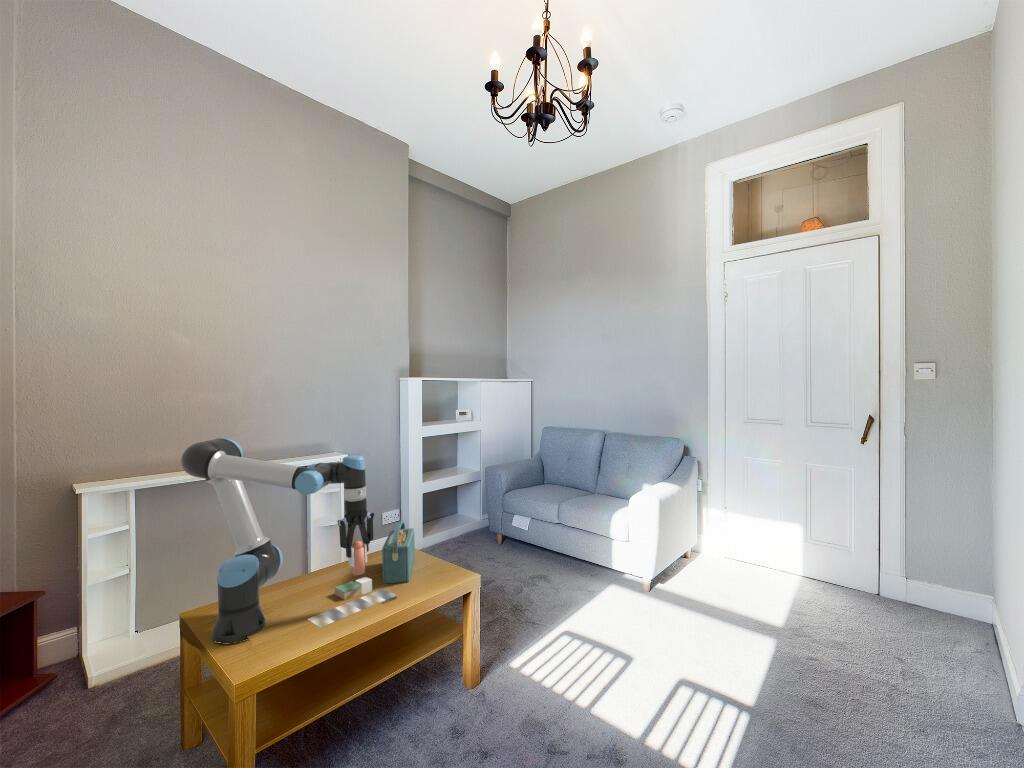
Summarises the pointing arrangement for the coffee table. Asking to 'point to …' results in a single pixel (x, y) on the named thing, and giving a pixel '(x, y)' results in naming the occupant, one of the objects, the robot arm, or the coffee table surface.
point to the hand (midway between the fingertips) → (358, 563)
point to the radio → (398, 555)
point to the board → (352, 607)
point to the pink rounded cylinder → (358, 558)
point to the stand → (348, 590)
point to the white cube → (365, 584)
